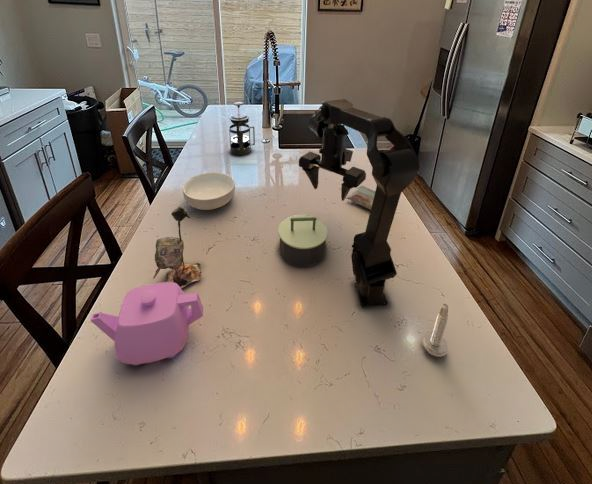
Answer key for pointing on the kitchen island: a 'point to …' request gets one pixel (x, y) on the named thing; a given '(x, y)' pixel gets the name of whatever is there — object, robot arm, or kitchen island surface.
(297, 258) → the container
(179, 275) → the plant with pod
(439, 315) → the screw
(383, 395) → the kitchen island surface
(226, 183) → the cereal bowl
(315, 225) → the lid
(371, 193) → the packaged food
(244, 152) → the french press
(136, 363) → the teapot
